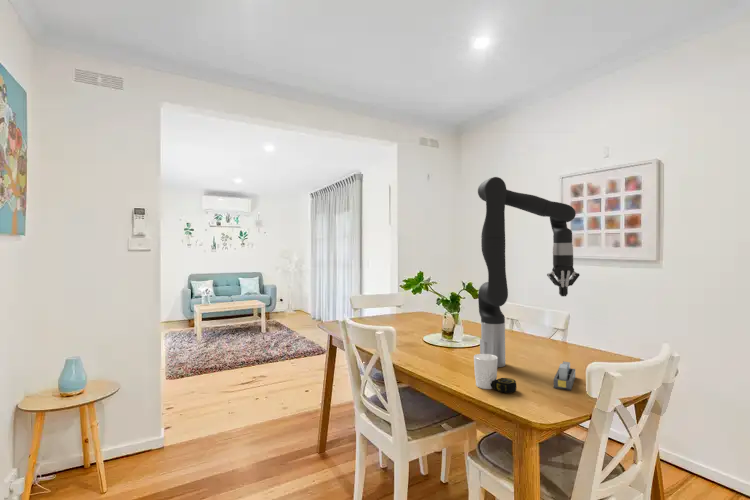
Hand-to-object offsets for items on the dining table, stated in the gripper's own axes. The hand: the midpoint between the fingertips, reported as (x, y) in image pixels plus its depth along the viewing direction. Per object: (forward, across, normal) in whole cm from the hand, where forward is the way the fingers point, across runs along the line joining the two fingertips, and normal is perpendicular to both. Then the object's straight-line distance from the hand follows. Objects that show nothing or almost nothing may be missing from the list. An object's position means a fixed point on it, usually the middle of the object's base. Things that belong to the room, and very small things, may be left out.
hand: (563, 296), depth 158 cm
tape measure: (+27, -36, -30) cm, 54 cm away
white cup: (+27, -40, -26) cm, 55 cm away
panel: (+26, -14, -27) cm, 40 cm away
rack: (+27, -12, -24) cm, 38 cm away
